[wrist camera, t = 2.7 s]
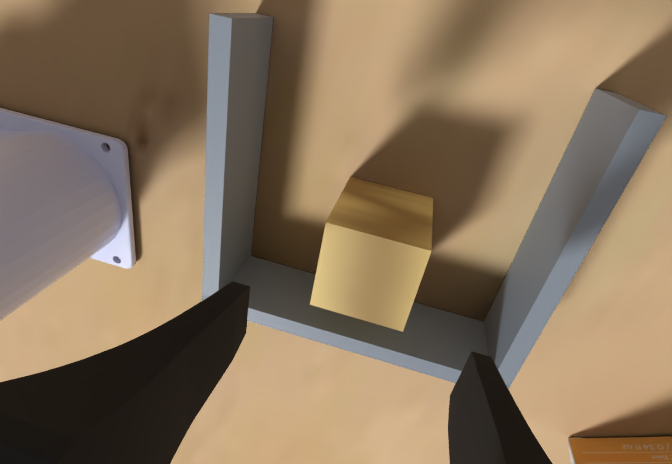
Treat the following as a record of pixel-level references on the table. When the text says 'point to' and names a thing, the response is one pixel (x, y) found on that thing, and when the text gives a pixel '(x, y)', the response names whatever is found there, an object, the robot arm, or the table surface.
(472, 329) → the u-shaped frame
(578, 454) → the small box
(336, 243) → the block
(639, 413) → the table surface
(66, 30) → the table surface
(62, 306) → the table surface
